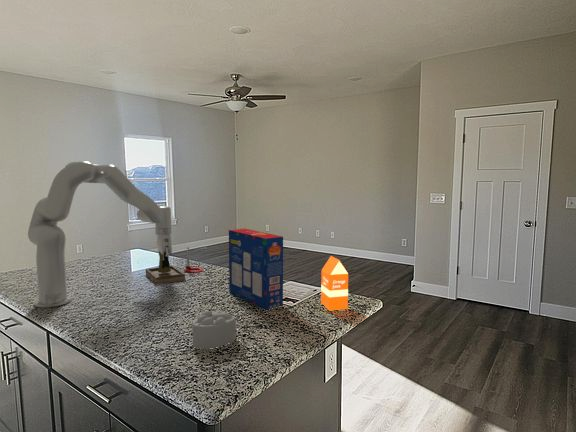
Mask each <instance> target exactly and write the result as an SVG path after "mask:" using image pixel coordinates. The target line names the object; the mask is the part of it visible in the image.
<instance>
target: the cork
mask: <svg viewBox="0 0 576 432" xmlns="http://www.w3.org/2000/svg"><path fill="white" fill-rule="evenodd" d="M168 252H169V251H168ZM164 254H166V253H164ZM158 256H160V258H159V260H158V261H159V263H158V267H159V269H158V272H159V273H167V272H170V271H171V269H170V266H171V265H170V263H171V262H169V268H168V267H164V269H163V268H162V261H163V257H162V254H161V253H160V251H159V252H158ZM165 256H166V255H164V257H165Z"/></svg>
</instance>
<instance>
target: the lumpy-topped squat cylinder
mask: <svg viewBox="0 0 576 432" xmlns="http://www.w3.org/2000/svg"><path fill="white" fill-rule="evenodd" d="M236 321H237V320H236V316H234V315H232V314H231V313H229V312H226V311H223V310H220V309H219V310H217V311H210V310H205V311H204V312H202V313H201V315H199V316H198V317H196V318H195V319H194V320H193V321H192V329H191V330H192V347H193V346H194V347H196V348H201V349H210V348H216V347H220V346H223V345H226V344H228V343H230V342H233V341H234V340H235V339H236V340H237V334H236V333H237V331H236V330H237V327H236V326H237V324H236V323H237V322H236ZM236 340H235V341H236ZM235 341H234V342H235ZM234 342H233V343H234ZM226 346H227V345H226Z"/></svg>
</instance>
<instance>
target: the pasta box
mask: <svg viewBox="0 0 576 432" xmlns="http://www.w3.org/2000/svg"><path fill="white" fill-rule="evenodd" d="M228 268H229V269H228V279H229V280H228V282H229V283H228V284H229V287H228V288H229V289H228V290H229V291H228V292H229V294H230V295H233V296H236V298H237V297H238V298H239V299H241V300H243V301H246V302H248V303H249V304H251V303H252V304H251V305H253V304H254V306H255V305H256V307H257V306H258V308H259V307H260V308H259V309H261V308H263V309H265V310H264V311H266V310H268V311H270V310H269V309H272V308H275V309H277V308H276V307H279V306H284V236H282V235H277V234H272V233H267V232H264V231H263V232H262V231H257V230H253V229H249V228H237V229H229V230H228ZM279 308H280V307H279ZM263 309H262V310H263ZM272 310H273V309H272Z"/></svg>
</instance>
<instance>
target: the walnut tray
mask: <svg viewBox="0 0 576 432" xmlns="http://www.w3.org/2000/svg"><path fill="white" fill-rule="evenodd" d="M158 269H159V266H158V267H152V268H146V269H145V276H146V277H148V278H149V280H150V281H152V282H153V283H154V284H155V285H161V284H167V283H168V284H169V283H174V282H181V281H186V272H184V271H182V270H180V269H179V268H177V267H176V266H174V265H170V269H171V271H170V272H167V273H159V272H158Z"/></svg>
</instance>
